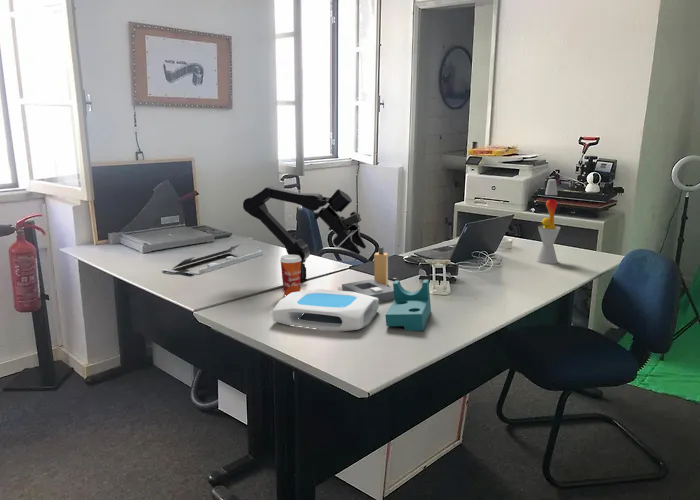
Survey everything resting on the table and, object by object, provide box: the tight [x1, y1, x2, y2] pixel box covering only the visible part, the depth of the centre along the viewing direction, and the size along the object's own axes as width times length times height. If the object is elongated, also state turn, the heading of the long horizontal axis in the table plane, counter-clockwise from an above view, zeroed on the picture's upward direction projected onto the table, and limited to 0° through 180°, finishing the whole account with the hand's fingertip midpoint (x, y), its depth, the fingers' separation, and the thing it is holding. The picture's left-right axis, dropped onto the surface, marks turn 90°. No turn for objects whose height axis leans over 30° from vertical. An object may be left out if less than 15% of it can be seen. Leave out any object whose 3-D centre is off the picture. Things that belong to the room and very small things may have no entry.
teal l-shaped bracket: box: [385, 279, 432, 332], centre depth 176 cm, size 18×11×10 cm, turn 165°
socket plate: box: [341, 278, 394, 303], centre depth 201 cm, size 13×17×4 cm
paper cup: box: [279, 254, 302, 297], centre depth 202 cm, size 8×8×14 cm
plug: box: [373, 246, 389, 286], centre depth 213 cm, size 4×4×14 cm
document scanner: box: [272, 288, 379, 333], centre depth 179 cm, size 21×28×6 cm
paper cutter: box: [162, 243, 264, 276], centre depth 251 cm, size 18×45×6 cm, turn 148°
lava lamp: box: [535, 178, 561, 265], centre depth 241 cm, size 9×9×35 cm
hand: (362, 250), depth 213 cm, fingers open, 9 cm apart
